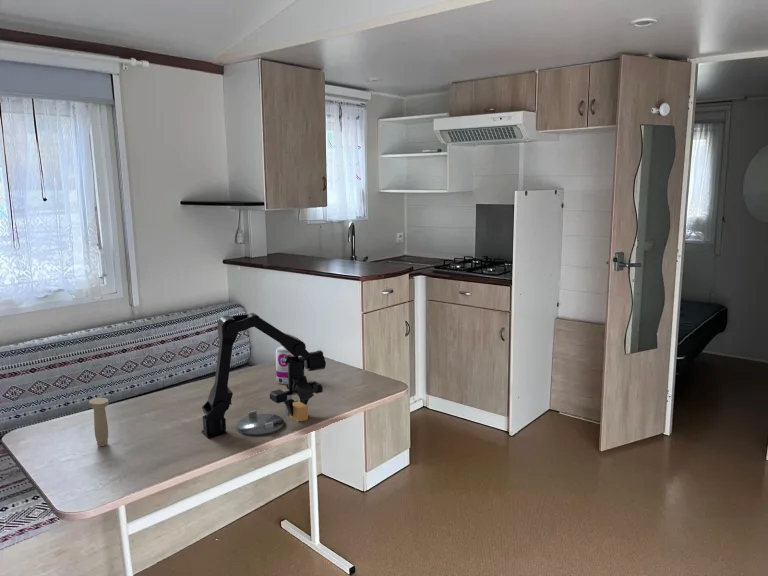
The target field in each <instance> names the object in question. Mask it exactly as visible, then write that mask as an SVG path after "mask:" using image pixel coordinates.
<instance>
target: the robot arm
mask: <svg viewBox="0 0 768 576" xmlns="http://www.w3.org/2000/svg"><path fill="white" fill-rule="evenodd" d="M251 328H255V329H257V330H259V331H260V332H261V333H264V334H265V335H266V336H268V337H269V338H271V339H273V340H274V341H276V342H278V343H279V344H280V346H283V347H284V348H285V349H286V350H287V351H288V352H290V353H291V354H292V355H293V356H291V357H289V356H288V355H286V356H285V357H284V358H283V359H282V361H283V362H284V363H288V375H286V378H288V384H287V385H286V389H287V391H284V390H281V389H277V390H276V389H275V390H272V391H271V392H270V393H269V399H270V400H271V401H272V402H274V403H276V404H281V403H284V404H285V405H286V406H287V409H288V411H289V413H290V415H291V416H293V402H294V400H293V399H294V398H293V396H295V395H297V396H298V398H299V401H300V402H301V403H303V404H305V405H306V406H308V402H309V400H310V399H311V398H313V397H314V396H315V394H320V393H323V391H324V389H323V388H324V387H323V385H322V384H321V383H319V382H318V381H315V380H313V381H309V382H308V379H307V378H308V377H307V376H306V375H305V370H307V371H308V372H313V371H314V372H315V371H319V370H320V371H321V370H325V369H326V364H327V362H326V360H325V356H324V351H322V350H316V351H308V350H307V349H306V343H305V342H304V341H303V340H301V339H300V338H298V337H296V336H294V335H291V334H289V333H285V332H284V331H282V330H280V329H278V328H277V327H276V326H274V325H273V324H271V323H269V322H267V321H266V320H264V318H261V317H260V316H259V315H258V314H257V313H254V312H250V313H246V314H238V315H232V316H231V315H223V316H221V317H220V318H219V319H218V320H217V336H218V341H219V345H218V346H219V347H218V353H217V362H216V367H215V378H214V383H213V386H212V387H211V388H210V389H211V390H210V392H209V395H208V397H207V401H206V402H205V403H204V405H203V406H202V407H201V409H202V411H203V413H204V415H202V428H203V429H202V430H201V433H202V434H203V435H204V436H205V437H206V438H208V439H212V438H215V437H219V436H222V435H226V434H227V433H228V432H227V431H226V430H227V422H226V421H227V420H226V418H225V414H226V412H227V411H228V410H229V409H230V407H231V406H232V398H233V394H234V393H233V391H232V390H231V388H229V386H228V385H229V376H230V369H231V362H232V361H231V360H232V354H233V346H234V343H235V341H236V340H237V338H238V334H239V333H241V332H244V331H247V330H248V329H251ZM230 405H231V406H230ZM285 405H284V406H285Z"/></svg>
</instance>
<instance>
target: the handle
mask: <svg viewBox="0 0 768 576" xmlns="http://www.w3.org/2000/svg"><path fill="white" fill-rule="evenodd" d="M88 403H89V406H90V409H93V421H94V422H93V425H94V428H93V429H94V436H95V437H94V438H95V441H96V445H97V447H98V446H100V447H101V446H104V447H106V446H107V445H108V444H109V426H108V419H107V413H106V407H108V405H109V399H108V398H106V397H105V398H104V397H94V398H92V399H89V401H88ZM109 406H110V405H109ZM105 445H106V446H105Z"/></svg>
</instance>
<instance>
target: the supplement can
mask: <svg viewBox="0 0 768 576" xmlns="http://www.w3.org/2000/svg"><path fill="white" fill-rule="evenodd" d="M286 355H288V356H289V357H291V356H293V355H292V354H291V353H290V352H288V351H287V350H286V349H285V348H284V347H283V346H282V345H278V346H276V350H275V375H276V376H275V379H276V382H277V383H278V384H280V385H288V378H286V375H288V363H284V362H283V361H282V359H283V358H284V357H285V356H286Z"/></svg>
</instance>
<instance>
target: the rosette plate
mask: <svg viewBox="0 0 768 576" xmlns="http://www.w3.org/2000/svg"><path fill="white" fill-rule="evenodd" d="M284 423H285V420H284V419H283V417H282V416H280V415H278V414H273V413H257V410H255V409H254V410H252V411H248V412H247V416H244V417H242V418H241V419H239V420H238V421H237V422H236V430H237V432H238V433H240V434H242V435H244V436H250V437H256V436H257V437H262V436H267V435H272V434H274V433H277V432H279V431H281V430H282V429H283V427H284Z"/></svg>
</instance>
